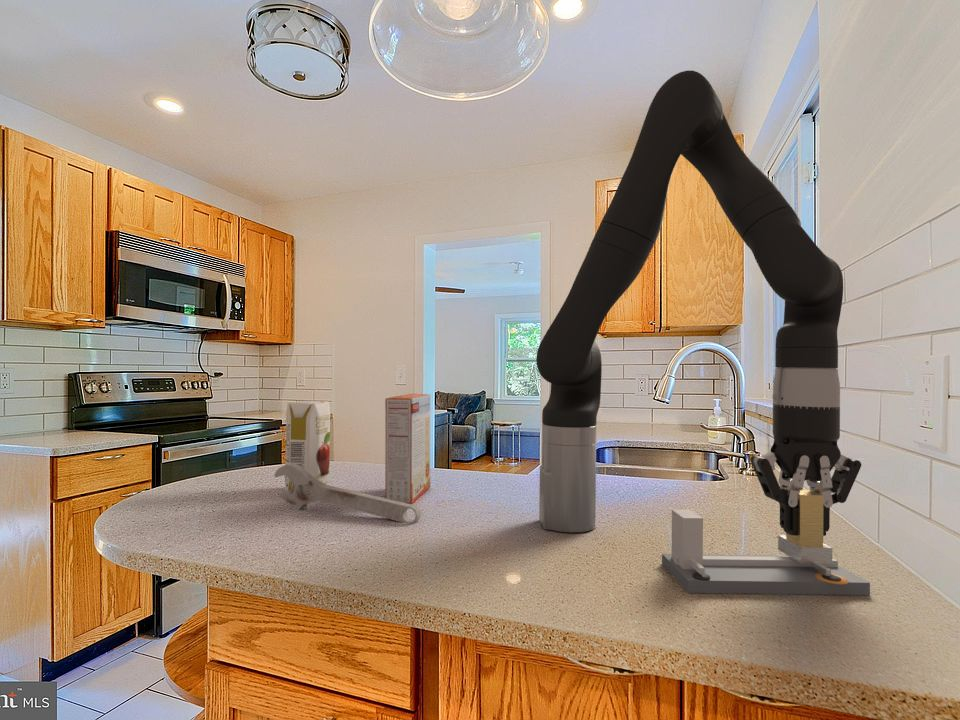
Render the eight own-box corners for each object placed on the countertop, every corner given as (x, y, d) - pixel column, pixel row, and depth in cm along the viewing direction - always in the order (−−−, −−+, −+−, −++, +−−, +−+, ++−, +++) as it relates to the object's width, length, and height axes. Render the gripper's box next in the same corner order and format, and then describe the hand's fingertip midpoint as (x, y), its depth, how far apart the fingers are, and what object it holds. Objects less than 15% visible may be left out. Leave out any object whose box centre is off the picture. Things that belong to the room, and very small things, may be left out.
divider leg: (812, 575, 64) (812, 501, 64) (778, 554, 71) (778, 487, 71) (844, 575, 64) (845, 501, 64) (807, 554, 71) (807, 488, 71)
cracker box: (404, 487, 116) (406, 393, 116) (431, 488, 115) (432, 393, 115) (382, 503, 102) (384, 396, 102) (412, 505, 101) (413, 397, 101)
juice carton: (280, 494, 108) (281, 402, 108) (300, 485, 116) (302, 400, 116) (314, 496, 106) (315, 403, 107) (332, 487, 115) (334, 401, 115)
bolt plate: (690, 595, 62) (691, 528, 62) (661, 564, 72) (662, 506, 72) (874, 597, 62) (874, 530, 62) (821, 566, 72) (821, 508, 72)
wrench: (413, 541, 89) (270, 504, 98) (418, 538, 91) (277, 501, 100) (419, 495, 89) (275, 462, 98) (424, 492, 90) (282, 460, 100)
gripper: (768, 403, 65) (766, 542, 65) (880, 405, 65) (879, 544, 65) (738, 400, 72) (736, 524, 72) (838, 401, 72) (838, 526, 72)
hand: (804, 533), depth 68 cm, fingers closed on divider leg, 3 cm apart
